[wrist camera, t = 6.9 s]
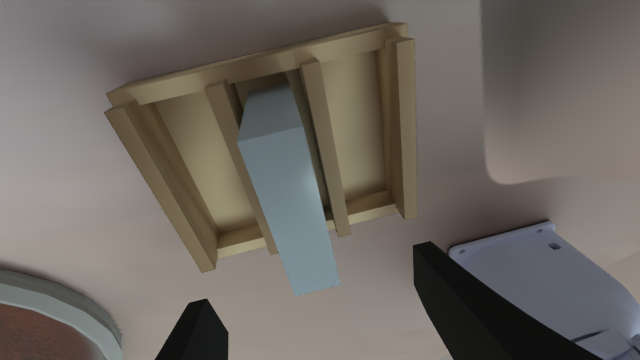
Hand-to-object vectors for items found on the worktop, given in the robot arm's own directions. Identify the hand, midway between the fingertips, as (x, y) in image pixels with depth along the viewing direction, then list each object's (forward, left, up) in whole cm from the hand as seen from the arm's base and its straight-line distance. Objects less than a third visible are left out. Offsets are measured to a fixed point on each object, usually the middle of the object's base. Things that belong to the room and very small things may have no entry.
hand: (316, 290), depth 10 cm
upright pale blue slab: (0, -1, -9) cm, 9 cm away
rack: (0, -1, -10) cm, 10 cm away
